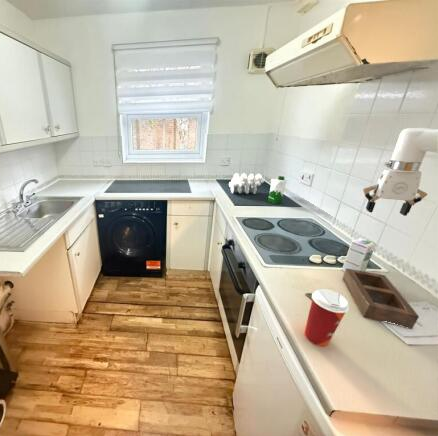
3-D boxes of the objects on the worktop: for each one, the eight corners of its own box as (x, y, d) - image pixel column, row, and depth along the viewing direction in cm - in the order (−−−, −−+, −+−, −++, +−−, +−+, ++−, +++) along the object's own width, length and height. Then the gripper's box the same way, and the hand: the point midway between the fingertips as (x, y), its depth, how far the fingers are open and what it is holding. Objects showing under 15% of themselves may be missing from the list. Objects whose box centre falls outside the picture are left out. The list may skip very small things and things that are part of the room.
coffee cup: (337, 354, 65) (356, 312, 59) (303, 344, 68) (317, 304, 62) (327, 330, 72) (343, 291, 66) (297, 323, 75) (309, 284, 69)
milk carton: (283, 203, 180) (289, 177, 173) (274, 205, 177) (280, 178, 169) (273, 200, 188) (278, 175, 180) (265, 201, 184) (270, 176, 177)
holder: (379, 285, 91) (384, 275, 90) (412, 328, 73) (419, 316, 71) (342, 278, 96) (346, 268, 94) (363, 317, 77) (369, 305, 75)
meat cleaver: (319, 295, 87) (303, 292, 88) (320, 292, 86) (304, 289, 88) (330, 317, 76) (311, 314, 78) (330, 314, 76) (312, 311, 78)
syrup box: (356, 277, 96) (369, 246, 91) (340, 270, 101) (351, 239, 96) (364, 274, 98) (377, 243, 93) (348, 266, 103) (359, 237, 98)
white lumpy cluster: (227, 196, 211) (256, 195, 209) (232, 193, 194) (264, 192, 192) (226, 175, 212) (255, 174, 210) (232, 171, 194) (263, 169, 193)
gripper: (376, 166, 81) (360, 213, 88) (445, 169, 75) (423, 219, 81) (367, 163, 88) (353, 207, 94) (430, 165, 81) (410, 212, 88)
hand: (385, 212), depth 88 cm, fingers open, 9 cm apart
